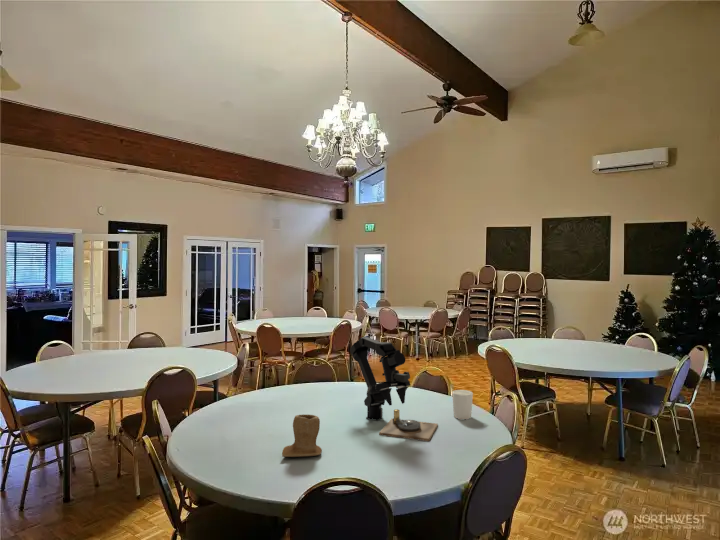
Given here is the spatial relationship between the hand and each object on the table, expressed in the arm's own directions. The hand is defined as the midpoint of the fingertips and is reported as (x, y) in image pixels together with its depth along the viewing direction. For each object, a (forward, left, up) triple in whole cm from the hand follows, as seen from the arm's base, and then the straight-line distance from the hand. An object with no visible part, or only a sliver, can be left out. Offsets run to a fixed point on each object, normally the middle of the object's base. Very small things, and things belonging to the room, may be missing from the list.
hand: (397, 404), depth 207 cm
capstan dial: (+3, +3, -10) cm, 11 cm away
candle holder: (+25, +28, -12) cm, 40 cm away
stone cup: (-28, -39, -12) cm, 49 cm away
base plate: (+5, +1, -11) cm, 13 cm away
